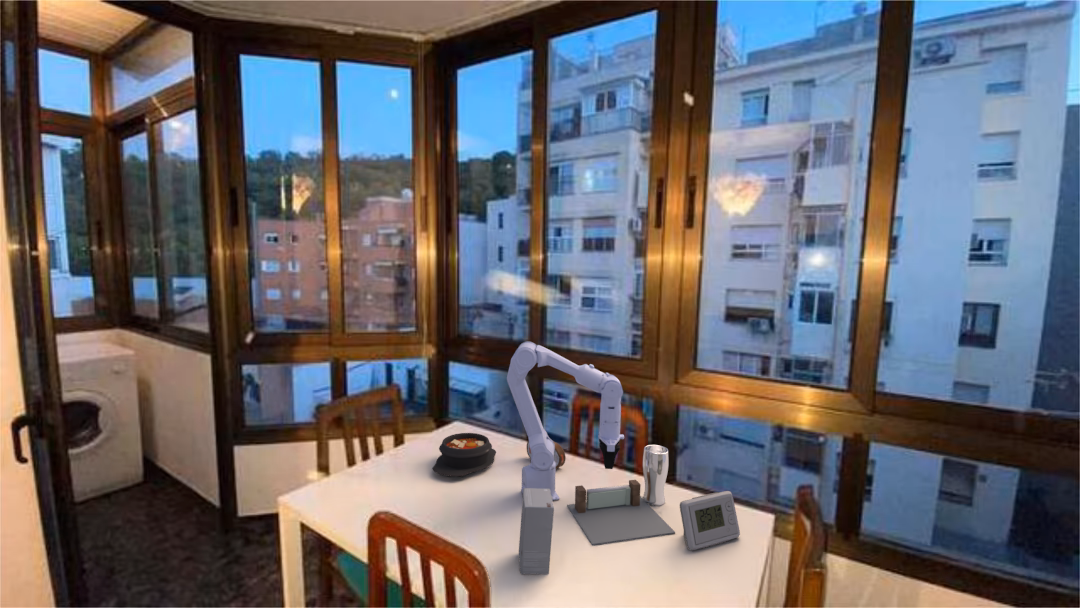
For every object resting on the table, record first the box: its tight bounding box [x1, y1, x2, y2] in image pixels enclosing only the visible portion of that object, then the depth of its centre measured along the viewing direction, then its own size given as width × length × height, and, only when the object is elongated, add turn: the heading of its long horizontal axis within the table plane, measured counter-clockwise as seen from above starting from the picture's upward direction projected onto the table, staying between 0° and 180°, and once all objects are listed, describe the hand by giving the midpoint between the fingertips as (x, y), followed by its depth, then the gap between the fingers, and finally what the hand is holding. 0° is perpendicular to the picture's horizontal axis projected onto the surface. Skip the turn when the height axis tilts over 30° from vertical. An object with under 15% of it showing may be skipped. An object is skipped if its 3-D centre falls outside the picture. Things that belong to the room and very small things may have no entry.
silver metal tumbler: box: [642, 444, 669, 507], centre depth 138 cm, size 7×7×15 cm
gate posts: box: [574, 479, 642, 513], centre depth 134 cm, size 18×3×6 cm, turn 105°
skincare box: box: [518, 488, 555, 575], centre depth 108 cm, size 8×7×16 cm
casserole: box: [432, 432, 497, 478], centre depth 159 cm, size 25×19×8 cm
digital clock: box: [679, 490, 741, 551], centre depth 120 cm, size 16×9×11 cm, turn 102°
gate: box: [586, 484, 631, 509], centre depth 134 cm, size 12×2×5 cm, turn 105°
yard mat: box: [566, 495, 676, 547], centre depth 128 cm, size 22×19×1 cm
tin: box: [526, 440, 567, 470], centre depth 161 cm, size 15×3×8 cm, turn 49°
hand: (608, 466), depth 138 cm, fingers closed
